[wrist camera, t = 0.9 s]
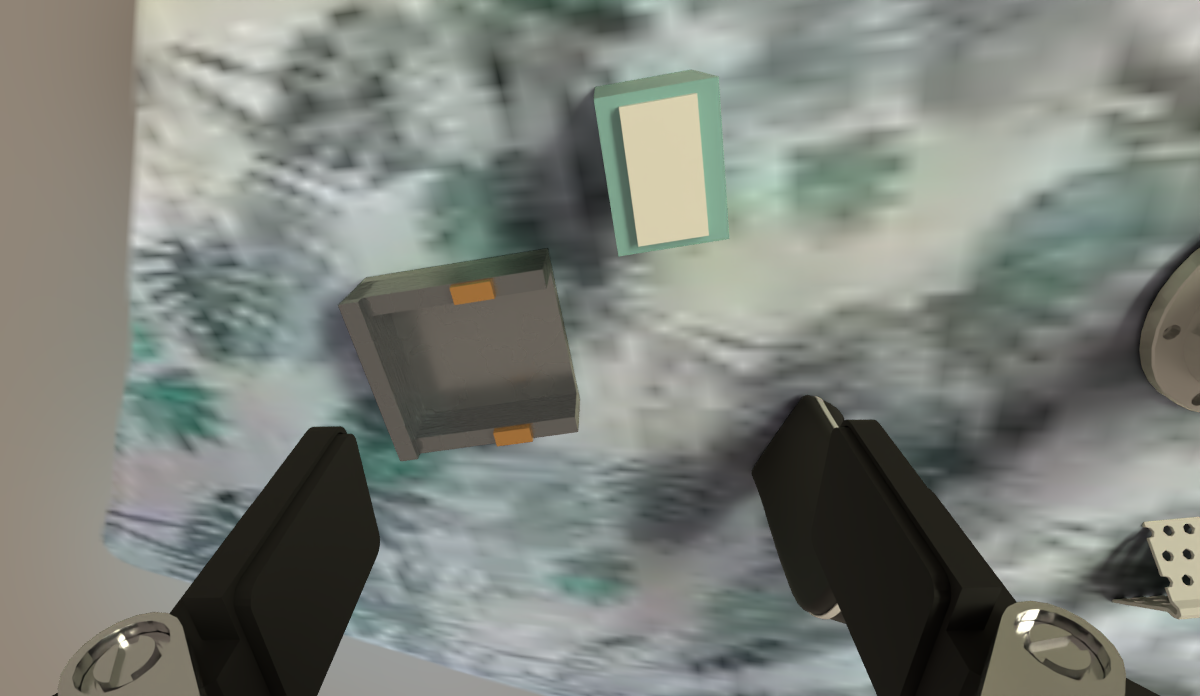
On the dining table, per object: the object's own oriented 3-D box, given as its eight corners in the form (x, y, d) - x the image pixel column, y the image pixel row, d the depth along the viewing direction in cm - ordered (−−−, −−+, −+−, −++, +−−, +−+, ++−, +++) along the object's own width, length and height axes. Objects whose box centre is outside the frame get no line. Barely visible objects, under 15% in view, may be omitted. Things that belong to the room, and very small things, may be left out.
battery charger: (796, 490, 38) (867, 650, 28) (745, 472, 38) (799, 629, 28) (859, 408, 36) (962, 553, 25) (805, 386, 35) (889, 527, 25)
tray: (547, 248, 31) (541, 273, 28) (580, 399, 35) (578, 437, 32) (366, 277, 32) (337, 305, 28) (419, 422, 36) (400, 461, 33)
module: (691, 69, 27) (720, 77, 21) (702, 198, 30) (731, 241, 23) (595, 86, 27) (593, 99, 21) (614, 213, 30) (618, 259, 24)
